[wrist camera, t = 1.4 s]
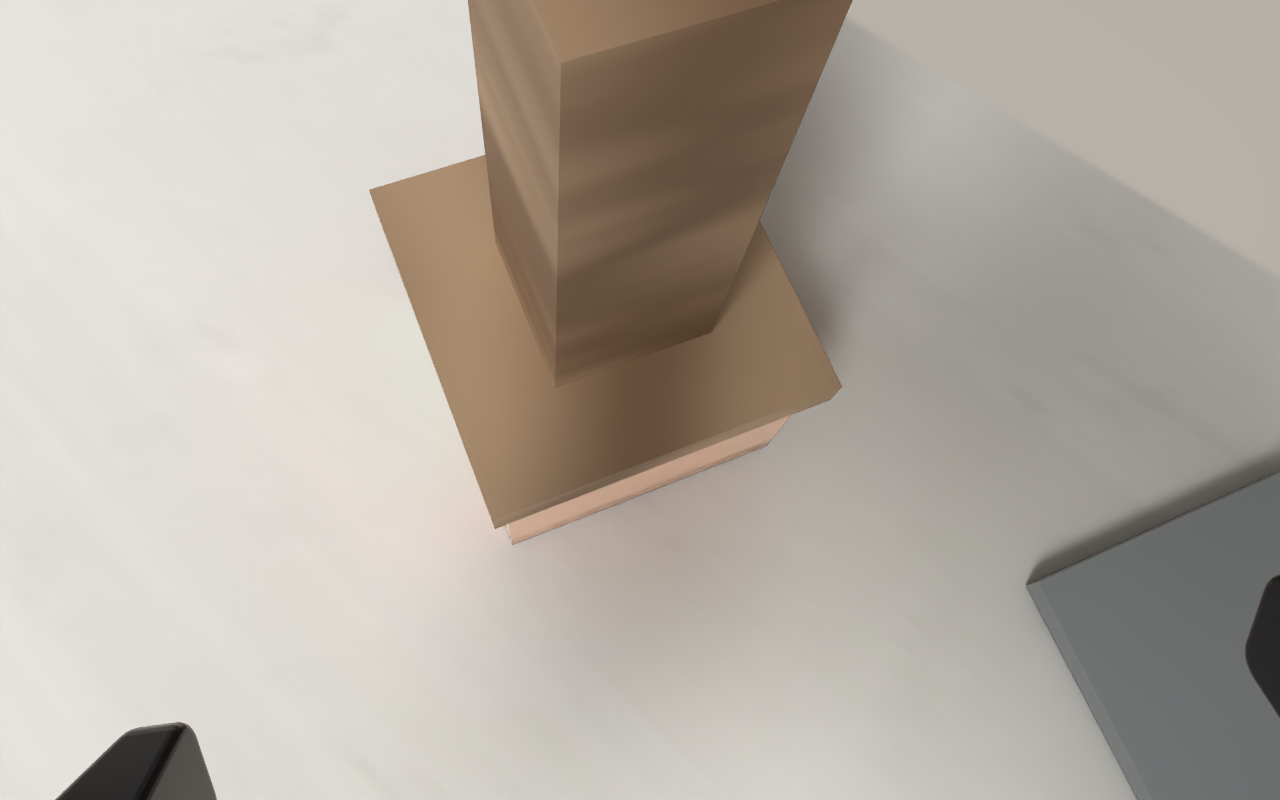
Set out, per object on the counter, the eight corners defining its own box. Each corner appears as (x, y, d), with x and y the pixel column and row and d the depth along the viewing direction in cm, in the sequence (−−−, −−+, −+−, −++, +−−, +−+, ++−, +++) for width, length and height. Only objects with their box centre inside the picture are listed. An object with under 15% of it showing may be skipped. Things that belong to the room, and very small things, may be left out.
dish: (512, 544, 21) (504, 508, 17) (420, 300, 23) (395, 218, 19) (766, 446, 22) (810, 391, 19) (661, 221, 24) (683, 129, 20)
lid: (495, 528, 17) (429, 304, 8) (376, 211, 19) (206, -284, 10) (830, 400, 19) (1118, 77, 9) (689, 114, 20) (809, -398, 11)
